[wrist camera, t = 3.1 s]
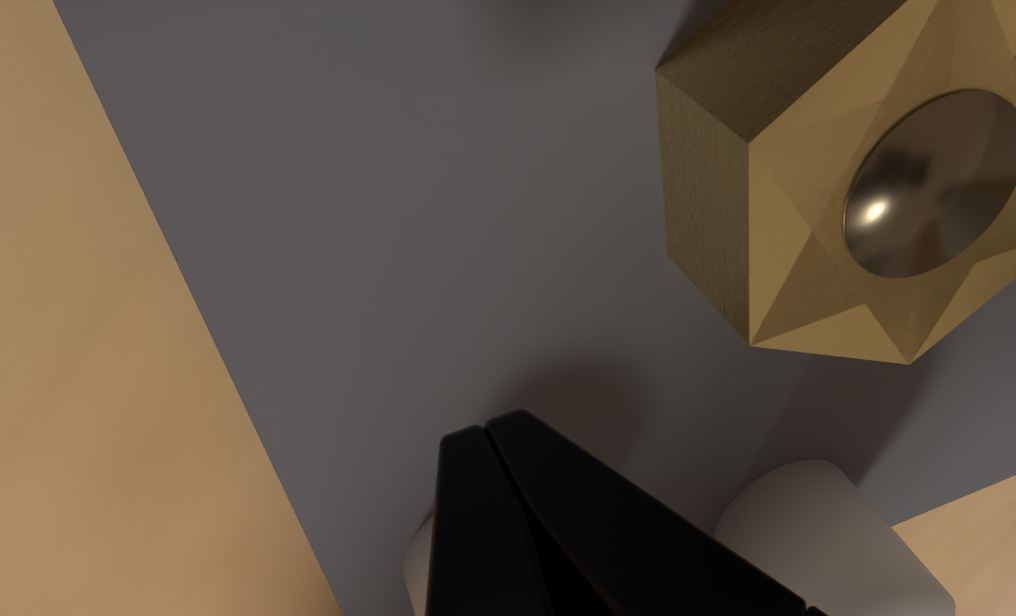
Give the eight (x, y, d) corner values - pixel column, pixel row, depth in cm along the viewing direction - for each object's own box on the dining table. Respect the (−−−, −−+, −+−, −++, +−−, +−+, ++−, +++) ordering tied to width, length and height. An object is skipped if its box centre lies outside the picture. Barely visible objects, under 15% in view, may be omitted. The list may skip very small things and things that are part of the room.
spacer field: (1200, 371, 21) (1367, 483, 18) (390, 701, 18) (440, 897, 15) (1841, -1218, 9) (2671, -1638, 6) (-413, -1023, 6) (-958, -1710, 3)
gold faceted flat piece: (951, 230, 15) (1063, 309, 13) (672, 331, 14) (751, 428, 12) (1011, -152, 11) (1174, -115, 9) (646, -47, 10) (750, 14, 9)
